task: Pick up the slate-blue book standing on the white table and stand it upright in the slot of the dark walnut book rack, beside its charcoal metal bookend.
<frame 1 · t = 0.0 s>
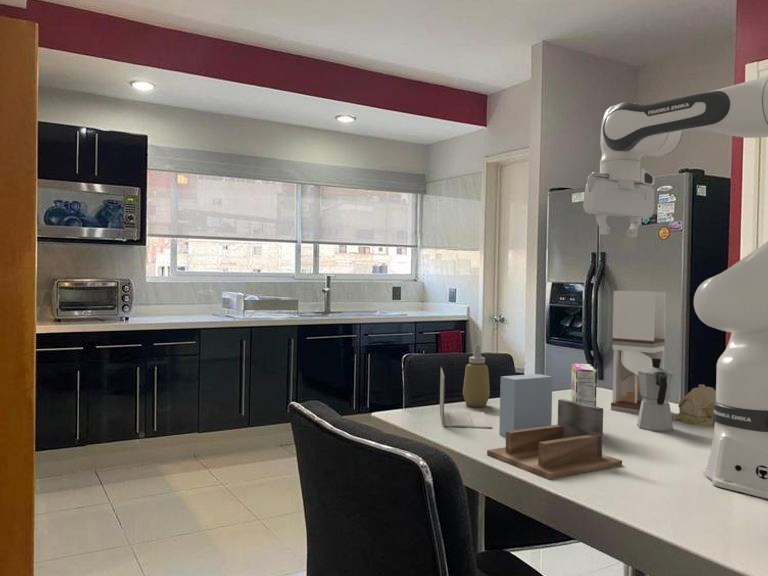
hand: (618, 235, 142), 48 cm above the table, tool pointing down, fingers open, 8 cm apart
book: (525, 434, 148), on the table
white coffee grinder: (636, 410, 180), on the table
squeeze bottle: (476, 406, 182), on the table
ceramic model: (701, 421, 168), on the table
book rack: (553, 459, 126), on the table
coffee maker: (655, 429, 156), on the table
laptop: (464, 422, 162), on the table
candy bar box: (582, 433, 150), on the table
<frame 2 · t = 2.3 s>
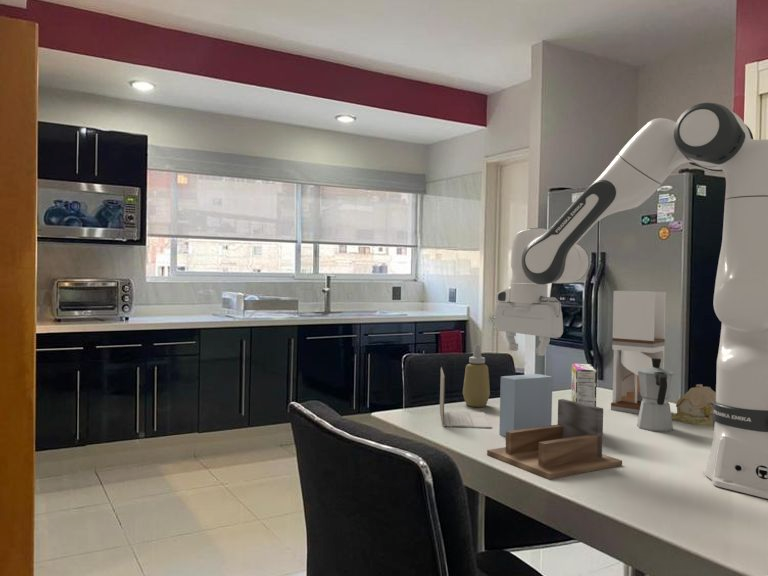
hand: (526, 352, 148), 20 cm above the table, tool pointing down, fingers open, 8 cm apart
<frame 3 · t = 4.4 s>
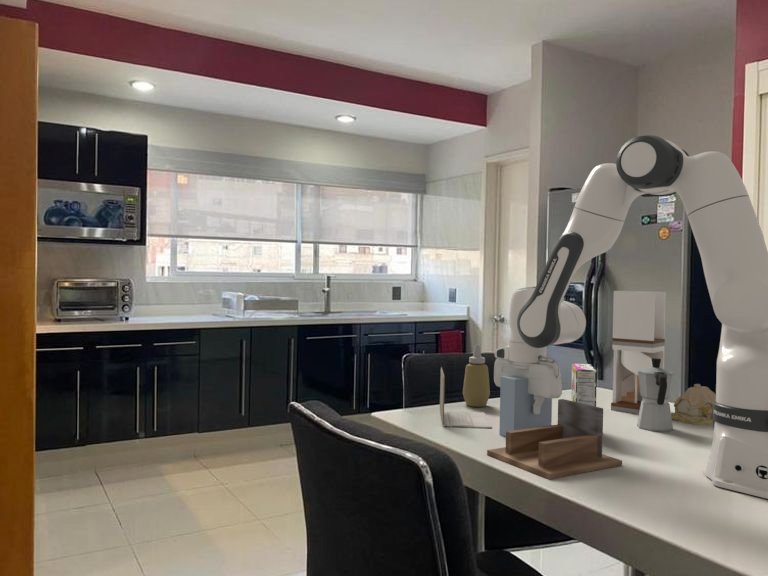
hand: (525, 411, 148), 6 cm above the table, tool pointing down, fingers closed on book, 5 cm apart
book: (525, 434, 148), on the table, touching gripper
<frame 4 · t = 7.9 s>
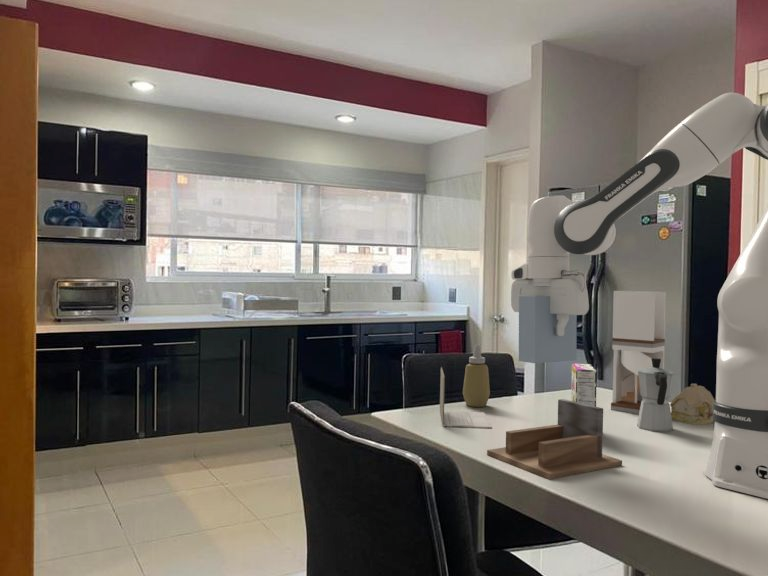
hand: (548, 334, 132), 25 cm above the table, tool pointing down, fingers closed on book, 5 cm apart
book: (547, 360, 132), point 20 cm above the table, touching gripper
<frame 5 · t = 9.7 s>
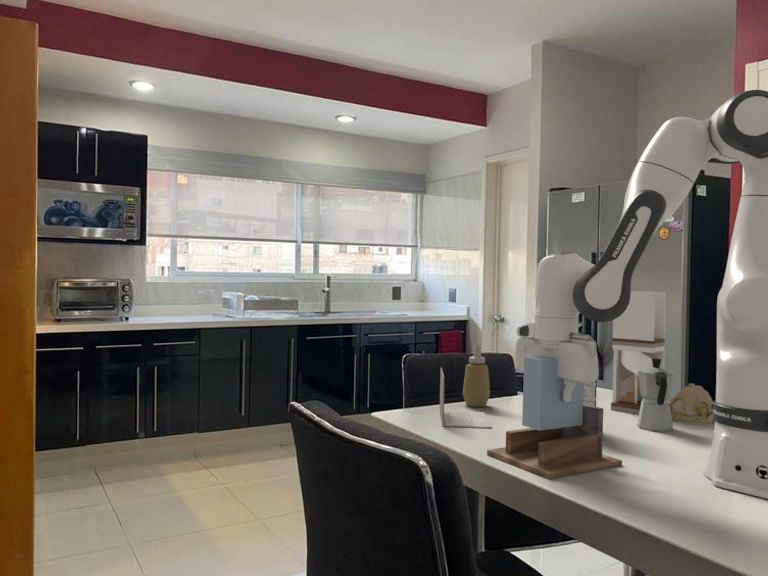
hand: (553, 397, 126), 13 cm above the table, tool pointing down, fingers closed on book, 5 cm apart
book: (552, 425, 126), point 7 cm above the table, touching gripper
when the fingers open (8 cm above the table, at t = 11.2 s): book stays where it is, resting on book rack.
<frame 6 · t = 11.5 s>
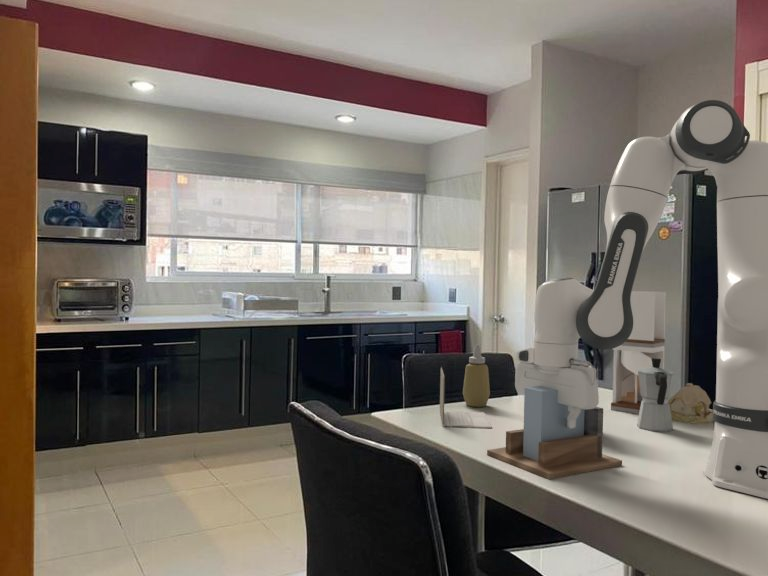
hand: (554, 423, 126), 8 cm above the table, tool pointing down, fingers open, 7 cm apart
book: (553, 455, 126), point 1 cm above the table, touching book rack
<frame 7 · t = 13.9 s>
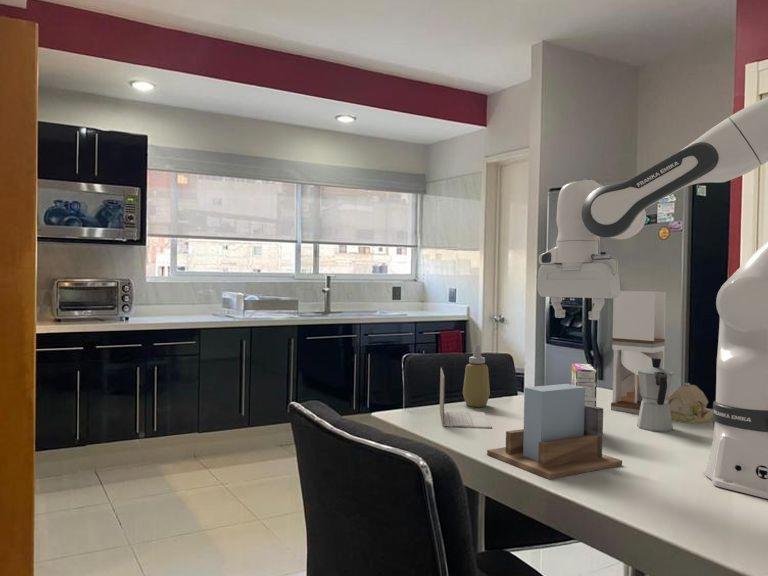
hand: (576, 318, 133), 29 cm above the table, tool pointing down, fingers open, 8 cm apart
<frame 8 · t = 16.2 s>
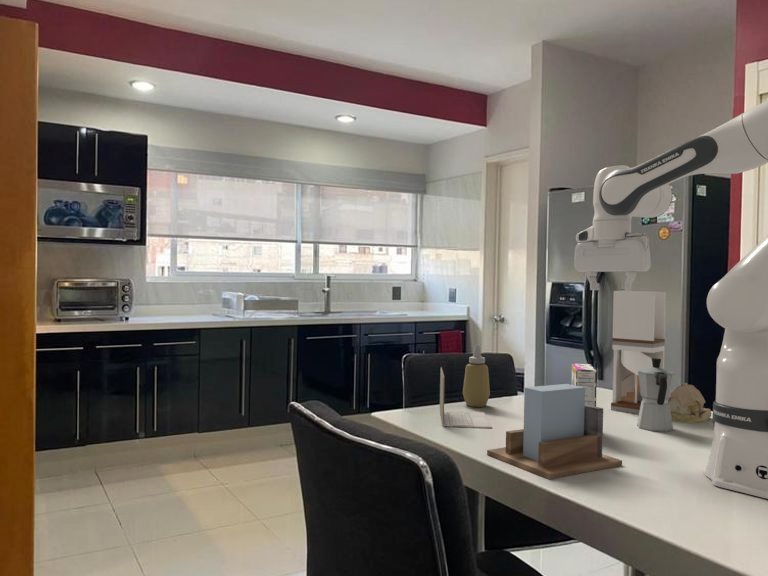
hand: (610, 290, 148), 35 cm above the table, tool pointing down, fingers open, 8 cm apart
at the end: book 0.1 cm off-centre on the book rack, point 1.0 cm above the book rack's base; book tilted 0°; the gripper is holding nothing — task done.
